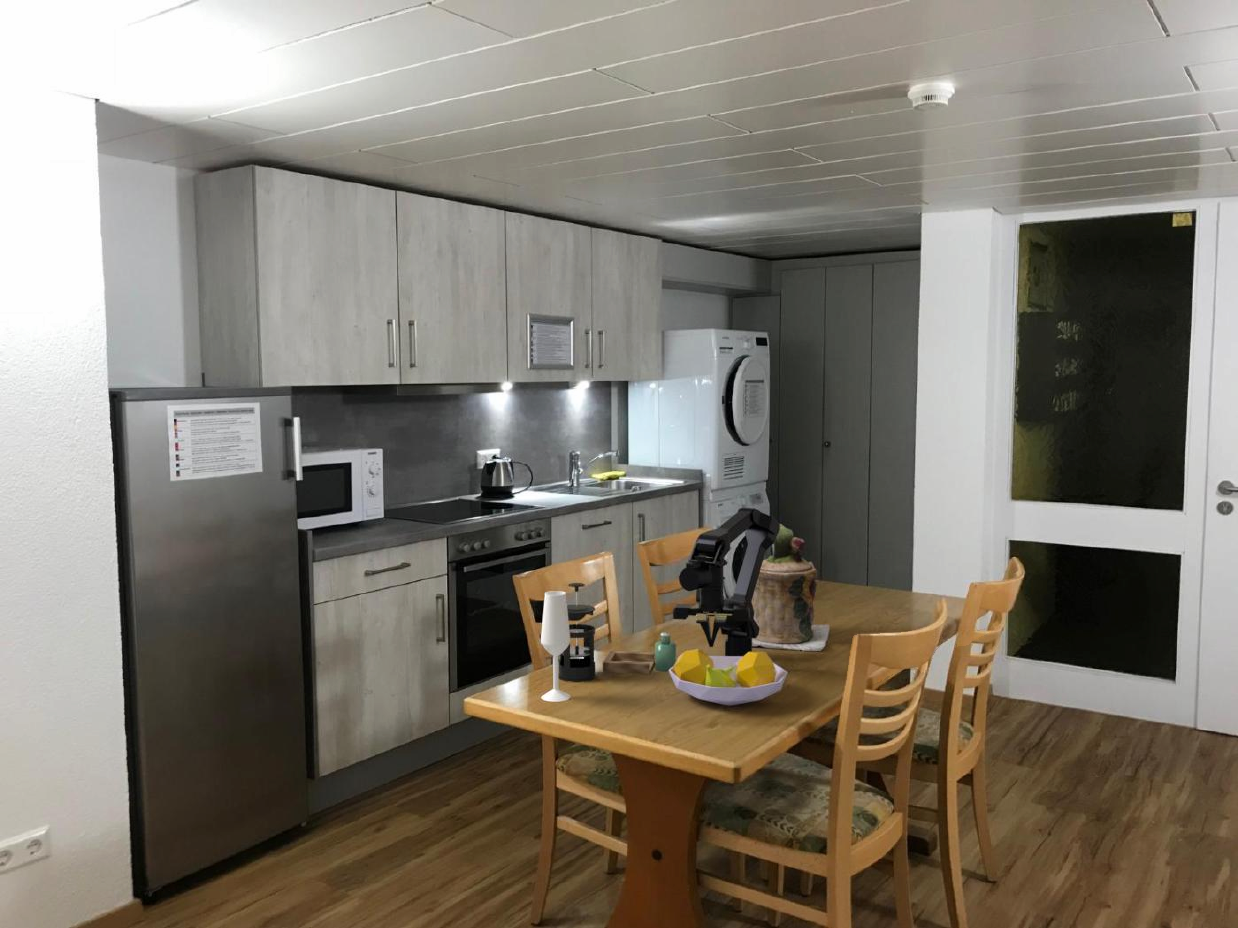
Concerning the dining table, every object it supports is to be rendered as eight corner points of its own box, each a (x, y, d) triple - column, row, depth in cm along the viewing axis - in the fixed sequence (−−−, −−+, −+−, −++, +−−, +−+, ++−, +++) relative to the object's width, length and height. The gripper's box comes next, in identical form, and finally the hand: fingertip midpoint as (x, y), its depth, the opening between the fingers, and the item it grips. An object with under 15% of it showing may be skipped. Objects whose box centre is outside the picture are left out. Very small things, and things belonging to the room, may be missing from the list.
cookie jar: (732, 647, 273) (733, 530, 271) (745, 626, 297) (746, 518, 294) (824, 653, 266) (826, 533, 264) (830, 631, 290) (832, 521, 288)
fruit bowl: (710, 673, 248) (710, 627, 247) (808, 694, 231) (808, 645, 230) (640, 700, 226) (640, 650, 226) (742, 725, 209) (742, 672, 208)
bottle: (676, 666, 254) (677, 631, 253) (674, 671, 249) (674, 636, 248) (656, 665, 255) (656, 630, 254) (653, 671, 250) (653, 635, 249)
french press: (605, 674, 246) (605, 582, 245) (585, 684, 238) (584, 589, 237) (566, 668, 252) (565, 577, 251) (544, 677, 244) (543, 584, 243)
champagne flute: (537, 694, 231) (536, 591, 229) (565, 691, 233) (564, 589, 231) (546, 702, 224) (545, 597, 223) (574, 699, 227) (574, 594, 225)
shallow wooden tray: (654, 661, 258) (654, 652, 258) (648, 673, 247) (648, 664, 247) (610, 660, 260) (610, 650, 259) (602, 671, 249) (602, 662, 249)
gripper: (750, 579, 255) (750, 640, 256) (677, 577, 258) (677, 637, 259) (749, 588, 244) (748, 651, 245) (672, 586, 247) (672, 648, 248)
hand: (711, 646), depth 250 cm, fingers closed
